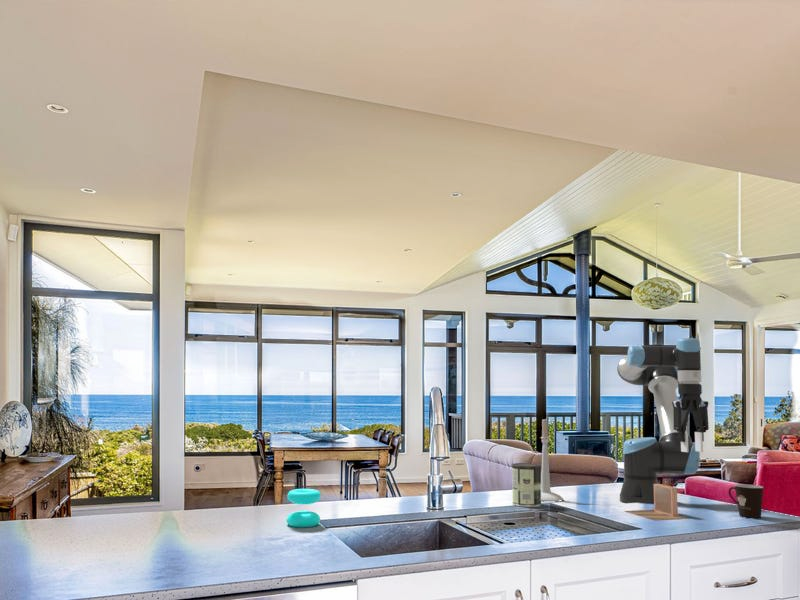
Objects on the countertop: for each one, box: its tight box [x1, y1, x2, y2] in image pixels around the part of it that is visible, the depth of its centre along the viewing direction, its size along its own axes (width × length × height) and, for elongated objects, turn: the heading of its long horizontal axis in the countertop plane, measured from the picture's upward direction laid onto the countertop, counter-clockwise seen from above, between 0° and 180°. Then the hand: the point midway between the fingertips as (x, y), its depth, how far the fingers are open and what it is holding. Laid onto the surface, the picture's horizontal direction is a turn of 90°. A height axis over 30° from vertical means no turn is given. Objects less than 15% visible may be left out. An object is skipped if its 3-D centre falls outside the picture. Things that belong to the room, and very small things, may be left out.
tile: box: [653, 483, 679, 516], centre depth 229 cm, size 9×2×9 cm, turn 19°
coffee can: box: [511, 462, 542, 508], centre depth 246 cm, size 10×10×14 cm
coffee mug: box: [728, 483, 764, 520], centre depth 231 cm, size 12×9×10 cm
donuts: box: [286, 488, 322, 528], centre depth 207 cm, size 10×10×10 cm
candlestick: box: [539, 418, 564, 501], centre depth 260 cm, size 13×13×30 cm
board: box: [623, 509, 692, 522], centre depth 226 cm, size 16×14×1 cm
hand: (691, 451), depth 234 cm, fingers open, 5 cm apart
